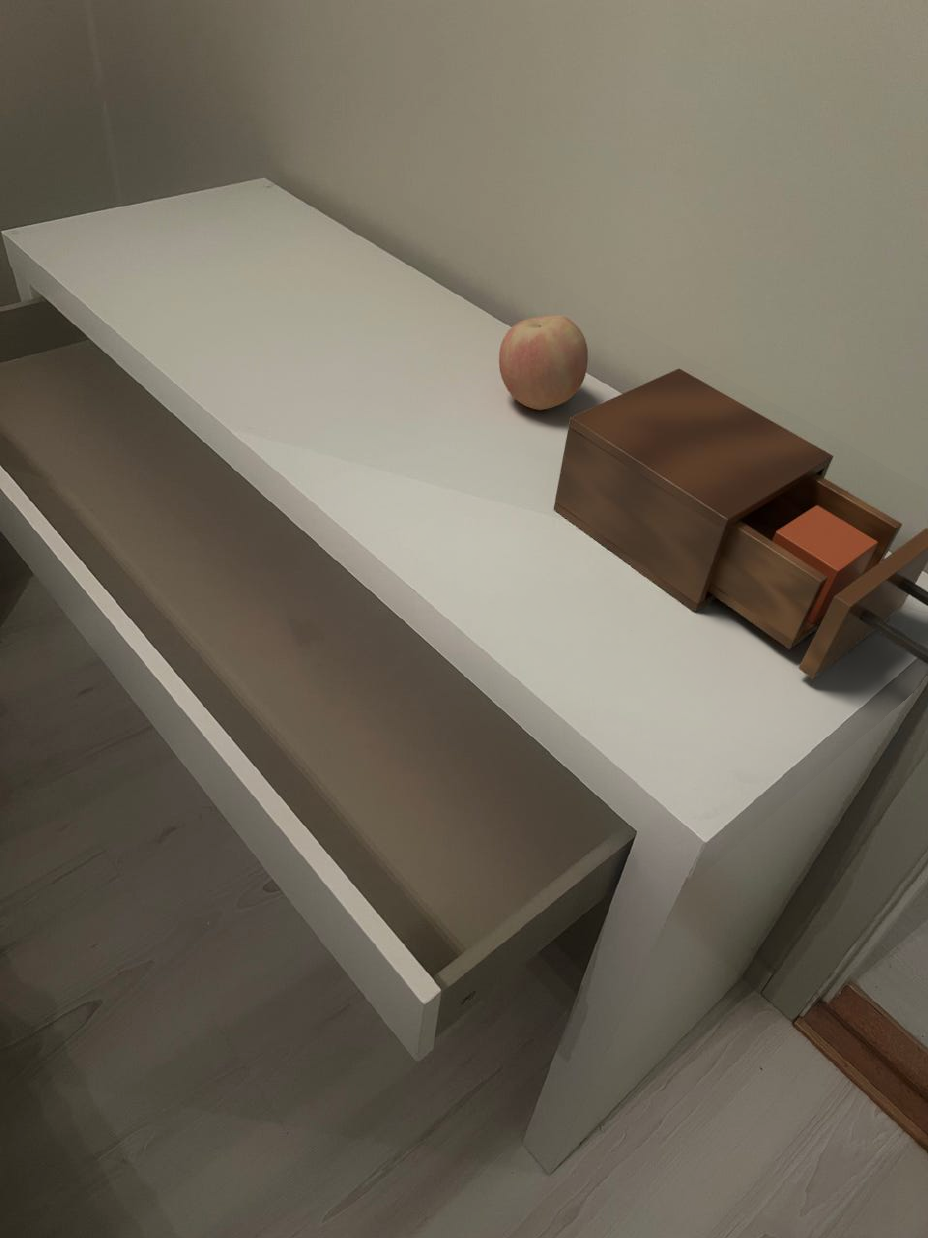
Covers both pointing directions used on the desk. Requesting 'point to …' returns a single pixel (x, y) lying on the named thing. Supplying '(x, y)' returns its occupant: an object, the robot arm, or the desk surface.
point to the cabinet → (675, 477)
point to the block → (827, 551)
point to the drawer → (819, 576)
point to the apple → (543, 361)
